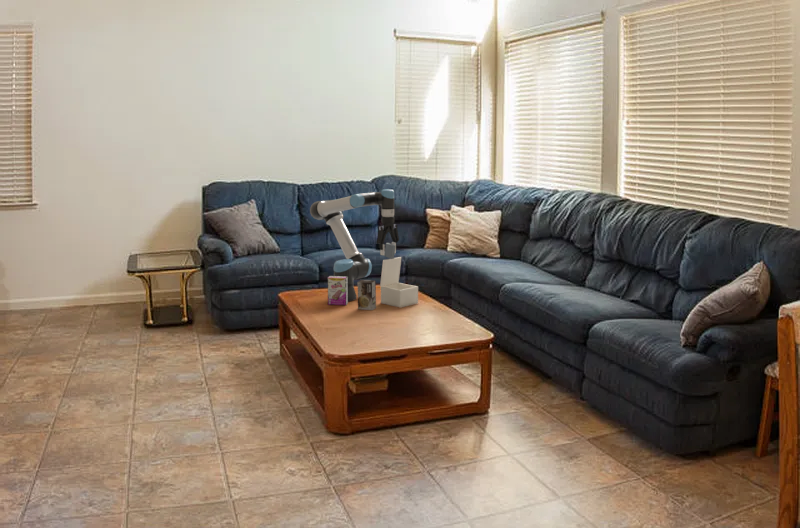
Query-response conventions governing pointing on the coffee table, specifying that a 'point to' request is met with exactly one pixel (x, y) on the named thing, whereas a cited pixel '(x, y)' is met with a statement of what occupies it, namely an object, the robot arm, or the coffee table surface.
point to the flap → (390, 266)
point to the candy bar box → (337, 290)
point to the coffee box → (366, 294)
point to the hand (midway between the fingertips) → (388, 254)
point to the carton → (399, 294)
